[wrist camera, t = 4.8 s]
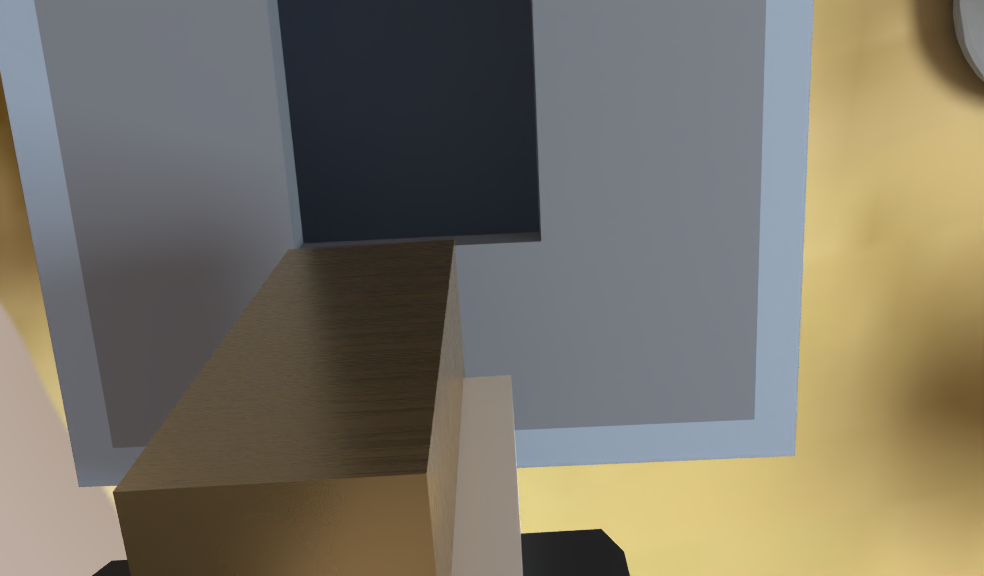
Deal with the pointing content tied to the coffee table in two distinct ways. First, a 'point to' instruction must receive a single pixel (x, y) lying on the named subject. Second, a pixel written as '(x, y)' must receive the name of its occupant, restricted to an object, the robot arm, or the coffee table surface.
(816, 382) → the coffee table surface
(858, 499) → the coffee table surface
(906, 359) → the coffee table surface
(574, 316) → the coin box
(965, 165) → the coffee table surface
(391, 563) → the tan flat block
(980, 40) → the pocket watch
